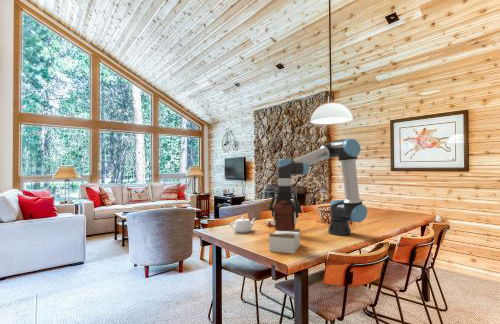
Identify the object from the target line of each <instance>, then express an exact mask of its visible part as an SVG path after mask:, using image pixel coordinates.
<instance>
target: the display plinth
mask: <svg viewBox="0 0 500 324" xmlns="http://www.w3.org/2000/svg"><path fill="white" fill-rule="evenodd" d="M268 234H269V237H268V243H269V244H268V246H269V247H268V251H269V252H273V253H274V252H275V253H285V254H295V253H296V252H297V250H298V249H299V247H300V246H301V228H295V230H290V231H276V230H275V231H274V232H272V233H268Z"/></svg>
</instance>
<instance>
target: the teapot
mask: <svg viewBox="0 0 500 324" xmlns="http://www.w3.org/2000/svg"><path fill="white" fill-rule="evenodd" d="M255 219H257V218H256V217H254V218H252V220H251V219H249V218H245V217H244V216H241V217H240V218H237V219H235V221H233V222H230V225H229V226H230V228H232V230H234V231H235V232H236V233H240V234H242V233H244V234H245V233H246V234H247V233H249V232H251V230H253V226H254V223H255V221H256V220H255Z"/></svg>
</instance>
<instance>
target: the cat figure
mask: <svg viewBox="0 0 500 324" xmlns="http://www.w3.org/2000/svg"><path fill="white" fill-rule="evenodd" d="M275 223H276V222H275ZM275 223H274V219H271V218H270V219H269V218H268V219H265V220H264V225H265V226H267V227H269V228H271V226H275Z"/></svg>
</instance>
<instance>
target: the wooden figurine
mask: <svg viewBox="0 0 500 324" xmlns="http://www.w3.org/2000/svg"><path fill="white" fill-rule="evenodd" d="M275 204H276V203H275ZM275 204H274V206H275V207H274V206H273V207H274V218H273V220H274V219H275V220H276V223H275V225H274V229H275V231H290V230H295V229H296V224H294V212H295V210H294V209H293V207H292V206H291V204H290V203H289V202H288V201H287V200H284V199H283V200H281V201H279V202H278V204H276V205H275Z"/></svg>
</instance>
